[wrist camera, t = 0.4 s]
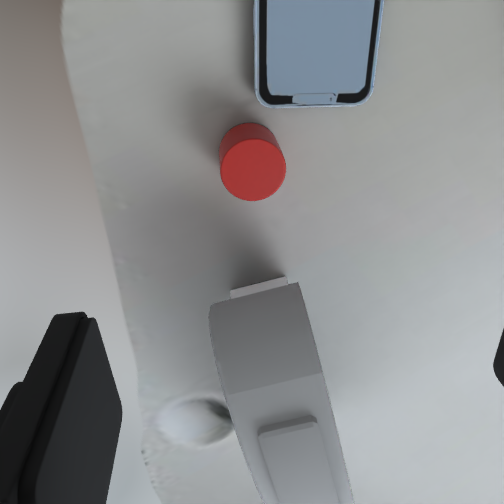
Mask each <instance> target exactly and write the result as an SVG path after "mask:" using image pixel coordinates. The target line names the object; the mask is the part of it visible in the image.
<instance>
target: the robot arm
mask: <svg viewBox="0 0 504 504" xmlns="http://www.w3.org/2000/svg"><path fill="white" fill-rule="evenodd" d="M493 368H494V372H495V375H496V377H497V378H498V380H499V381H500V382H501V384H502V385H503V386H504V329H503V332H502V336H501V339H500V342H499V346H498V349H497V352H496V355H495V359H494V363H493ZM121 422H122V405H121V401H120V398H119V394H118V391H117V388H116V384H115V381H114V377H113V375H112V371H111V368H110V364H109V361H108V357H107V354H106V351H105V347H104V344H103V341H102V337H101V334H100V331H99V328H98V324H97V322H96V319H95V318H88V317H87V315H86V314H85V313H84V312H75V313H65V314H56V315H55V316H54V317H53V319H52V320H51V322H50V325H49V327H48V329H47V331H46V333H45V335H44V337H43V340H42V342H41V344H40V346H39V348H38V350H37V353H36V355H35V357H34V359H33V361H32V363H31V365H30V367H29V370H28V372H27V374H26V376H25V378H24V380H23V382H18V383H16V384H15V385H14V386H13V387H12V389H11V390H10V392H9V393H8V396H7V398H6V400H5V402H4V404H3V406H2V408H1V410H0V504H106V500H107V495H108V490H109V485H110V479H111V474H112V469H113V464H114V458H115V453H116V448H117V443H118V437H119V433H120V428H121Z"/></svg>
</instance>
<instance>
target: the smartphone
mask: <svg viewBox="0 0 504 504" xmlns="http://www.w3.org/2000/svg"><path fill="white" fill-rule="evenodd" d="M383 6H384V0H254V7H253V20H254V90H255V95H256V97H257V99H258V101H259V102H260V103H261V104H262V105H263V106H265V107H268V108H300V107H336V106H358V105H361V104H363V103H364V102H366V101H367V100H368V99H369V97H370V96H371V94H372V92H373V87H374V79H375V71H376V63H377V55H378V47H379V39H380V31H381V22H382V14H383Z"/></svg>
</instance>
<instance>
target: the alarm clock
mask: <svg viewBox="0 0 504 504" xmlns="http://www.w3.org/2000/svg"><path fill="white" fill-rule="evenodd" d="M230 296H231V299H230V300H226V301H222V302H218V303H214V304H212V305H211V307H210V312H209V326H210V335H211V341H212V346H213V351H214V356H215V361H216V365H217V369H218V373H219V376H220V380H221V384H222V388H223V392H224V396H225V399H226V402H227V405H228V409H229V412H230V415H231V418H232V422H233V425H234V428H235V431H236V434H237V437H238V440H239V443H240V446H241V448H242V451H243V454H244V457H245V460H246V463H247V465H248V468H249V470H250V473H251V475H252V477H253V480H254V482H255V485H256V487H257V490H258V492H259V494H260V496H261V498H262V500H263V502H264V504H354V500H353V495H352V490H351V486H350V482H349V477H348V473H347V469H346V465H345V460H344V456H343V452H342V448H341V444H340V440H339V435H338V431H337V427H336V423H335V419H334V415H333V411H332V407H331V403H330V399H329V395H328V391H327V387H326V383H325V379H324V375H323V371H322V368H321V364H320V360H319V356H318V352H317V348H316V344H315V341H314V337H313V333H312V329H311V325H310V322H309V318H308V314H307V311H306V307H305V303H304V300H303V296H302V293H301V289H300V286H299V283H298V282H297V283H293V284H289V285H288V282H287V278H286V276H285V277H281V278H277V279H273V280H269V281H265V282H261V283H257V284H253V285H250V286H246V287H242V288H238V289H234V290H230Z"/></svg>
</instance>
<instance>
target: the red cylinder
mask: <svg viewBox="0 0 504 504" xmlns="http://www.w3.org/2000/svg"><path fill="white" fill-rule="evenodd" d="M219 159H220V174H221V179H222V182H223V184H224V186H225V187H226V189H227V190H228V191H229V192H230V193H231V194H232V195H234V196H236V197H238V198H240V199H243V200H247V201H257V200H262V199H265V198H267V197H269V196H271V195H272V194H273V193H275V192H276V191H277V190H278V189H279V187H280V186H281V184H282V183H283V180H284V178H285V174H286V163H285V159H284V157H283V154H282V152H281V150H280V147H279V145H278V143H277V140H276V138H275V137H274V135H273V134H272V133H271V132H270V130H268V129H267V128H266V127H264V126H262V125H259V124H256V123H243V124H240V125H237V126H235V127H233V128H232V129H231V130H229V131H228V132H227V133H226V135H225V136H224V137H223V139H222V141H221V144H220V148H219Z"/></svg>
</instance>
